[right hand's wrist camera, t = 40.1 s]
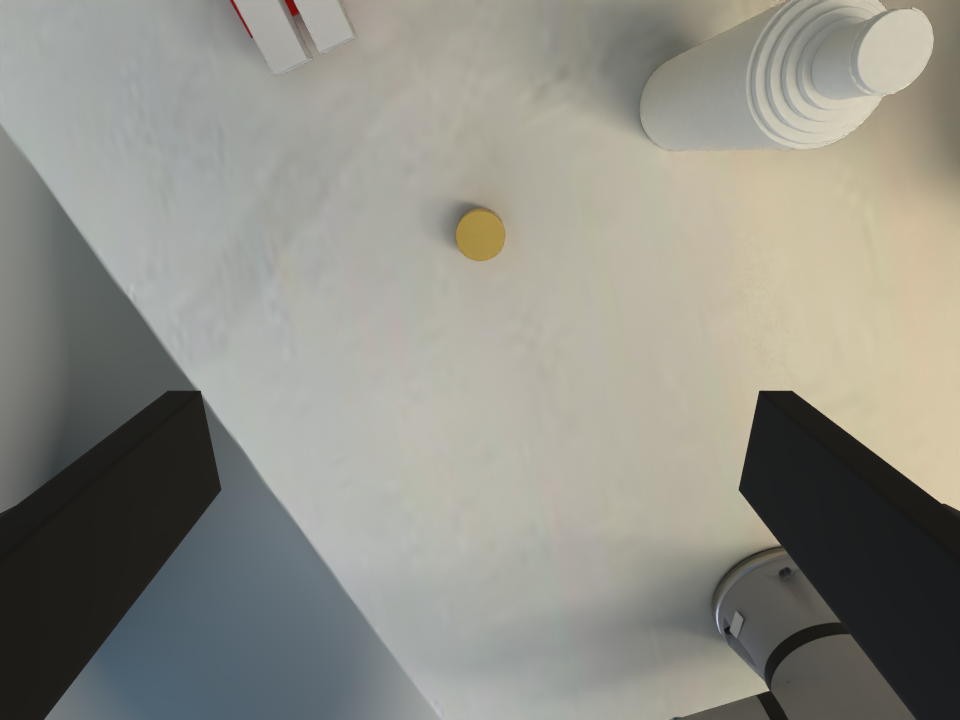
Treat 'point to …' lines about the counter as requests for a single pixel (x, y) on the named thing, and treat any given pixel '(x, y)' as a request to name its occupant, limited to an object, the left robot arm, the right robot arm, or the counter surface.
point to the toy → (294, 29)
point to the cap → (480, 234)
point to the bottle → (786, 77)
